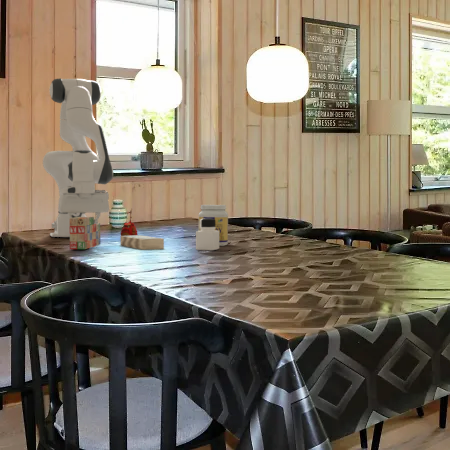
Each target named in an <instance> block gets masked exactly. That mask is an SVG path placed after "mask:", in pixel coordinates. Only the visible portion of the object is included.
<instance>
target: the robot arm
mask: <svg viewBox="0 0 450 450" xmlns="http://www.w3.org/2000/svg"><path fill="white" fill-rule="evenodd" d="M48 89H49V90H48V91H49V96H50V98H51V100H52V101H53V102H55V103H58V104H60V105H61V107H60V110H59V111H60V113H59V136H60V139H62V141H64V142H65V143H67V144H69V145H70V146H71V147H72V150H53V151H48V152H46V153H45V154H44V156H43V159H42V167H43V169H44V171H45V172H46V173H47V174H48V175H50V176H51V177H52V178H53V180H54V181H55V183H56V184H57V187H58V194H59V197H58V198H59V199H58V205H57V206H58V207H57V209H58V216H57V217H56V219H55V220H54V222H51V228H52V229H53V230H54V232H50V233H49V236H51V237H52V238H55V237H57V238H59V237H60V238H70V229H69V228H70V218H75V217H88V216H87V215H86V213H89V214H90V213H91V214H92V213H93V214H94V215H95V216H96V217H94V224H98V223H99V219H100V217H101V213H104V214H105V213H108V212H109V211H110V204H109V203H110V202H109V199H110V198H109V197H110V196H109V195H110V194H109V192H108V191H107V190H105V189H102V190H101V189H96V184H99V185H107V184H108V183H110V182H111V181H112V180H113V177H114V169H113V166H112V163H111V160H110V156H109V152H108V148H107V147H108V146H107V142H106V139H105V135H104V130H103V127H102V125H101V124H100V123H97V121H96V120H95V119H96V118H94V117H95V116H94V112H93V111H94V110H93V106H94V105H96V104H98V102H100V99H101V96H102V89H101V85H100V84H99V83H98V82H97V81H96V80H91V79H90V80H87V79H83V78H54V79H53V80H51V83H50V85H49V88H48ZM87 138H89V139H90V140H92V141H93V142H94V144H95V147H96V151H97V154H96V153H95V152H94V151H93V150H92V149H91V147H90V146H89V144H88V142H87Z"/></svg>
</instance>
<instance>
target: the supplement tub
mask: <svg viewBox="0 0 450 450" xmlns="http://www.w3.org/2000/svg"><path fill="white" fill-rule="evenodd" d="M226 209H227V205H226V204H200V210H201V211H200V212H199V213H198V231H201V229H200V220H201V219H204V218H212V219H215V230H217V231H219V247H223V246H227V245H228V243H229V242H228V240H229V239H228V238H229V237H228V236H229V233H228V232H229V214H228V212H227V211H226Z"/></svg>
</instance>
